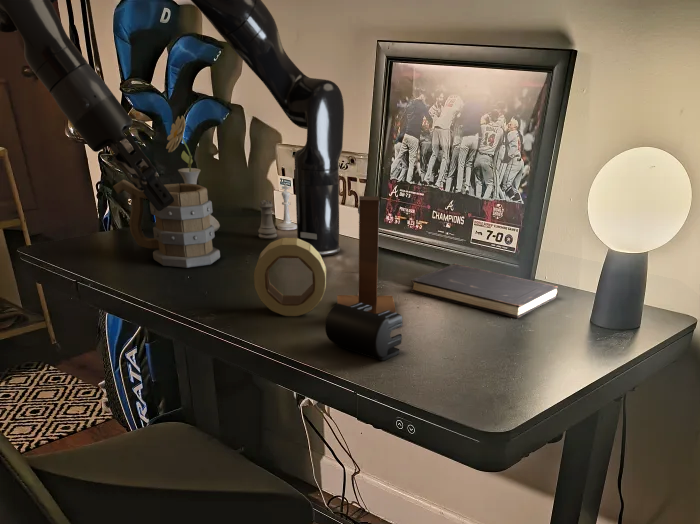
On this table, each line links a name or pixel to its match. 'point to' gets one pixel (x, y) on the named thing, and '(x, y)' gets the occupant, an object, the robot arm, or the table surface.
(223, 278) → the table surface
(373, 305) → the stand
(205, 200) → the tankard
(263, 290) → the masking tape
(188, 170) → the flower in vase
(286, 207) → the chess piece
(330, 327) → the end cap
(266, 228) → the rook chess piece
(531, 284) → the hardcover book
